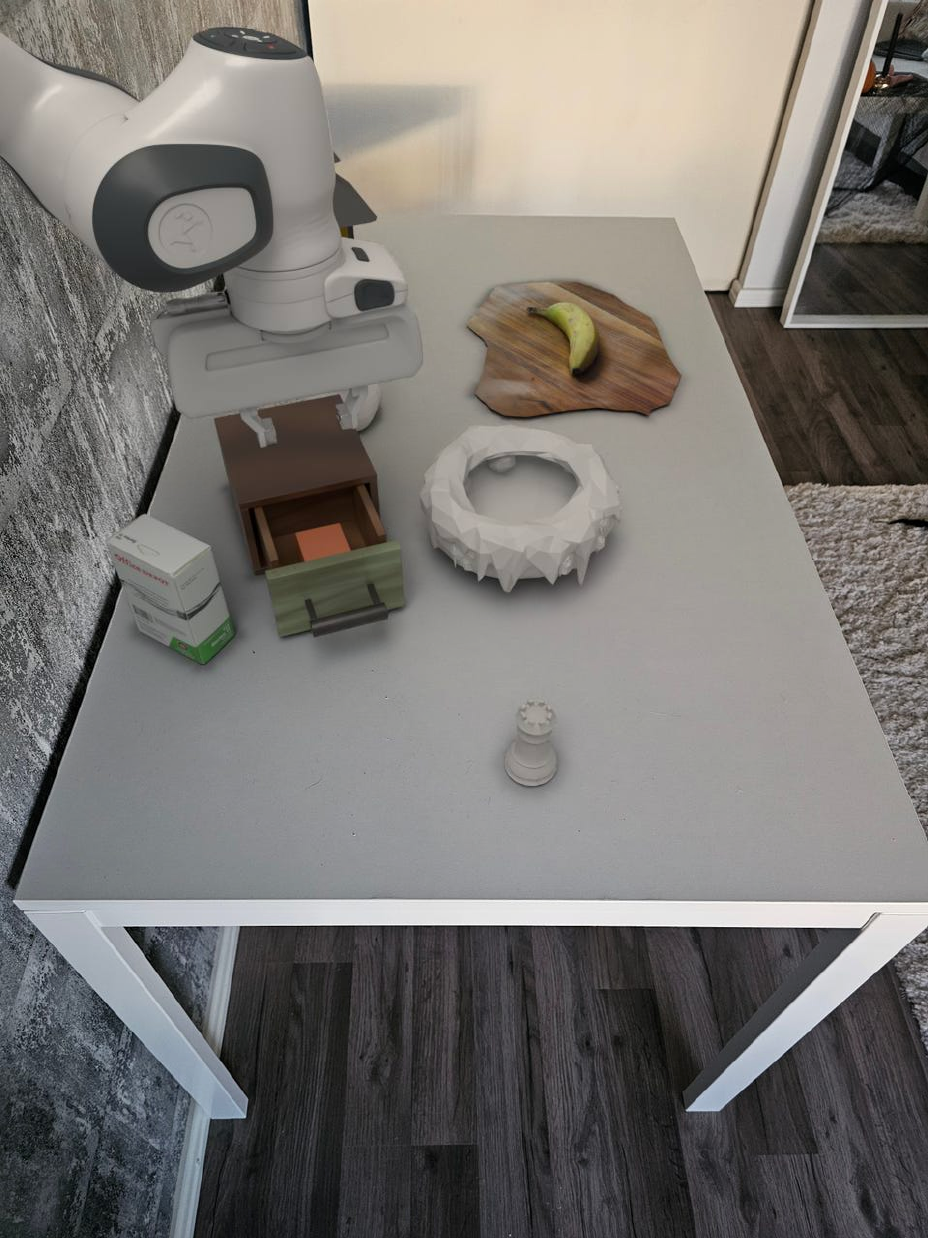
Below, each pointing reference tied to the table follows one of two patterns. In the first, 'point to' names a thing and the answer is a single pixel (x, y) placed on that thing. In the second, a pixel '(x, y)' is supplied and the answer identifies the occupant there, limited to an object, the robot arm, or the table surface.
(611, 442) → the table surface
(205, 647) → the ink box
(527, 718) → the rook chess piece
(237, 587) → the table surface
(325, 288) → the robot arm
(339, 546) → the block
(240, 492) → the cabinet
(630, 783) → the table surface
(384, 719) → the table surface
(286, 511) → the drawer
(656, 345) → the cutting board
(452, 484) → the bowl
